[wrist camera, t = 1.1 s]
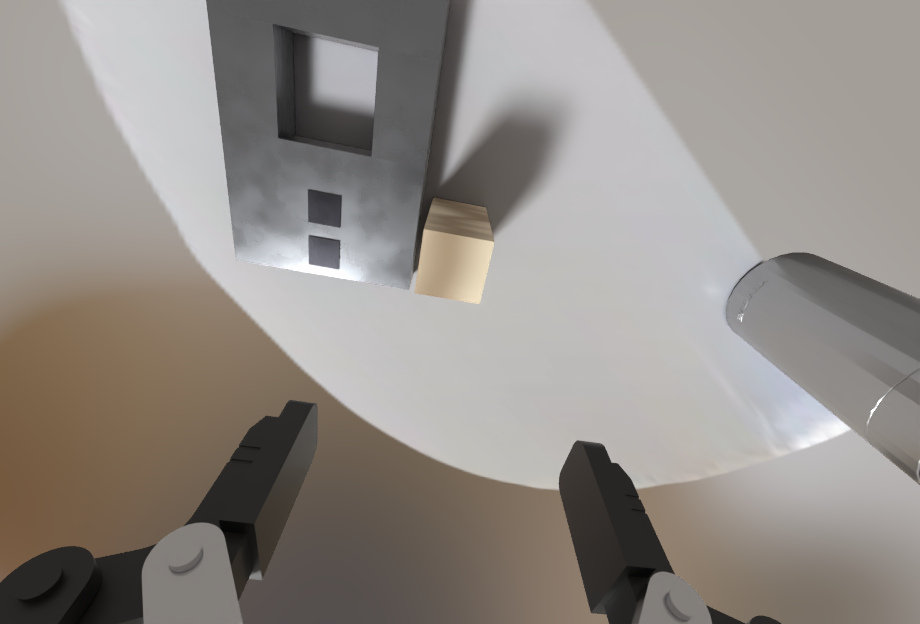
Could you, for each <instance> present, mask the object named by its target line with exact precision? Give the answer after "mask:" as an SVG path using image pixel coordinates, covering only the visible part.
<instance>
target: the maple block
mask: <svg viewBox="0 0 920 624" xmlns="http://www.w3.org/2000/svg"><path fill="white" fill-rule="evenodd" d="M493 246H494V238H493V234H492V230H491V226H490V222H489V218H488V214H487V210H486V207H481V206H476V205H471V204H465V203H460V202H455V201H450V200H445V199H439V198H434V197H433V201H432V204H431V207H430V210H429V214H428V217H427V220H426V223H425V227H424V231H423V238H422V245H421V252H420V259H419V266H418V273H417V280H416V287H415V293H417V294H423V295H429V296H435V297H441V298H447V299H453V300H459V301H465V302H471V303H476V304H480V300H481V296H482V292H483V287H484V283H485V279H486V275H487V271H488V267H489V263H490V258H491V254H492V250H493Z"/></svg>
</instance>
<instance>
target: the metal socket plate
mask: <svg viewBox="0 0 920 624" xmlns="http://www.w3.org/2000/svg"><path fill="white" fill-rule="evenodd" d="M206 2H207V11H208V20H209V29H210V37H211V46H212V55H213V64H214V72H215V81H216V90H217V99H218V107H219V116H220V125H221V134H222V142H223V151H224V160H225V169H226V178H227V186H228V195H229V204H230V213H231V221H232V230H233V239H234V248H235V256H236V261H242V262H248V263H254V264H260V265H266V266H272V267H277V268H283V269H289V270H295V271H301V272H307V273H313V274H319V275H325V276H331V277H337V278H342V279H348V280H354V281H360V282H366V283H372V284H378V285H384V286H390V287H396V288H402V289H407V290H409V287H410V284H411V280H412V277H413V271H414V263H415V256H416V249H417V241H418V234H419V227H420V219H421V212H422V205H423V197H424V190H425V183H426V175H427V168H428V161H429V154H430V146H431V139H432V132H433V124H434V117H435V110H436V102H437V95H438V88H439V80H440V73H441V66H442V58H443V51H444V44H445V36H446V29H447V22H448V14H449V7H450V0H206ZM293 33H297V34H302V35H306V36H311V37H315V38H320V39H324V40H328V41H333V42H337V43H342V44H346V45H351V46H355V47H360V48H364V49H369V50H373V51H377V52H378V66H377V81H376V96H375V112H374V127H373V142H372V151H370V150H366V149H361V148H356V147H351V146H346V145H341V144H336V143H331V142H326V141H321V140H316V139H311V138H306V137H301V136H296V135H295V105H294V67H293Z"/></svg>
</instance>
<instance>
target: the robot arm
mask: <svg viewBox="0 0 920 624" xmlns="http://www.w3.org/2000/svg"><path fill="white" fill-rule="evenodd" d="M726 318H727V322H728V325H729V326H730V328H731V329H732V330H733V331H734V332H735V333H736V334H737V335H738V336H740V337H741V338H742V339H743V340H744V341H746V342H747V343H748V344H749V345H751V346H752V347H753V348H754V349H755V350H757V351H758V352H759V353H760V354H761V355H762V356H763V357H765V358H766V359H767V360H768V361H770V362H771V363H772V364H773V365H774V366H776V367H777V368H778V369H779V370H780V371H782V372H783V373H784V374H785V375H787V376H788V377H789V378H790V379H791V380H793V381H794V382H795V383H796V384H797V385H799V386H800V387H801V388H802V389H804V390H805V391H806V392H807V393H808V394H810V395H811V396H812V397H813V398H814V399H816V400H817V401H818V402H819V403H821V404H822V405H823V406H824V407H825V408H827V409H828V410H829V411H830V412H831V413H833V414H834V415H835V416H836V417H837V418H839V419H840V420H841V421H842V422H844V423H845V424H846V425H847V426H848V427H850V428H851V429H852V430H853V431H854V432H856V433H857V434H858V435H859V436H861V437H862V438H863V439H864V440H865V441H867V442H868V443H869V444H870V445H872V446H873V447H874V448H876V449H877V450H878V451H879V452H880V453H882V454H883V455H884V456H885V457H886V458H888V459H889V460H890V461H891V462H892V463H894V464H895V465H896V466H898V467H899V468H900V469H901V470H902V471H903V472H905V473H906V474H907V475H908V476H910V477H911V478H912V479H913V480H914V481H916V482H917V483H918V484H919V485H920V299H919V298H916V297H914V296H912V295H909V294H907V293H904V292H902V291H899V290H897V289H895V288H892V287H890V286H888V285H885V284H883V283H880V282H878V281H876V280H873V279H871V278H869V277H866V276H864V275H861V274H859V273H857V272H855V271H852V270H850V269H848V268H845V267H843V266H840V265H838V264H836V263H833V262H831V261H828V260H826V259H823V258H821V257H819V256H816V255H813V254H809V253H789V254H785V255H780V256H778V257H775V258H772V259H770V260H768V261H766V262H764V263H762V264H760V265H758V266H757V267H756V268H754V269H753V270H752V271H750V272H749V273H748V274H747V275H746V276H745V277H744V278H743V279H742V280H741V281H740V282H739V283H738V285H737V286H736V287H735V289H734V290H733V292H732V294H731V296H730V298H729V300H728V304H727V308H726ZM316 446H317V404H316V403H308V402H302V401H294V400H290V401H289V402H288V403H287V404H286V406H285V407H284V409H283V411H282V413H281V415H280V416H279V417H271V416H265V417H264V418H263V419H262V420H260V421H259V422H258V423H256V424H255V425H254V426H253V427H251V428H250V429H249V431H248V432H247V434H246V435H245V437H244V438H243V440H242V441H241V443H240V444H239V448H237V449H236V450H235V452H234V454H233V455H232V457H231V458H230V462H228V463H227V464H226V466H225V467H224V469H223V470H222V472H221V474H220V475H219V476H218V478H217V480H216V481H215V482H214V484H213V486H212V487H211V489H210V490H209V492H208V493H207V495H206V496H205V498H204V499H203V501H202V502H201V504H200V505H199V507H198V508H197V510H196V512H195V513H194V515H193V516H192V517H191V519H190V520H189V521H188V522H187V523H186V524H185V525H184V526H183V527H181V528H179V529H177V530H175V531H173V532H172V533H170V534H168V535H167V536H166V537H164V538H163V539H162V540H161V541H160V542H159V543H157V544H155V545H152V546H150V547H147V548H143V549H139V550H134V551H130V552H125V553H120V554H115V555H110V556H105V557H101V558H96V559H94V557H93V556H92V554H91V553H90V552H89V551H88V550H86V549H84V548H82V547H76V546H68V547H61V548H57V549H54V550H50V551H48V552H45V553H43V554H40V555H38V556H36V557H34V558H32V559H30V560H29V561H27V562H25V563H24V564H22V565H21V566H19V567H18V568H17V569H15V570H14V571H13V572H11V573H10V574H9V575H8V576H7V577H6V578H5V579H4V580H3V581H2V582H1V583H0V624H243V621H242V617H241V611H240V607H239V602H238V601H239V599H240V597H241V594H242V592H243V590H244V588H245V585H246V584H247V581H248V579H257V580H262V579H263V577H264V574H265V572H266V570H267V567H268V565H269V563H270V560H271V558H272V556H273V553H274V551H275V548H276V546H277V544H278V541H279V539H280V537H281V534H282V532H283V529H284V527H285V525H286V522H287V520H288V517H289V515H290V513H291V510H292V508H293V506H294V503H295V501H296V498H297V496H298V494H299V491H300V489H301V486H302V484H303V482H304V479H305V477H306V475H307V472H308V470H309V467H310V465H311V463H312V460H313V457H314V454H315V450H316ZM559 490H560V494H561V498H562V502H563V506H564V510H565V514H566V518H567V522H568V525H569V529H570V533H571V537H572V541H573V544H574V548H575V553H576V556H577V560H578V564H579V568H580V571H581V576H582V580H583V584H584V588H585V591H586V595H587V599H588V603H589V607H590V611H591V613H597V614H607V618H608V621H609V624H745V623H743V622H741V621H739V620H736V619H734V618H732V617H730V616H728V615H726V614H723V613H721V612H719V611H717V610H715V609H713V608H710V607H709V606H707V605H705V603H704V601H703V600H702V598H701V597H700V595H699V594H698V593H697V592H696V591H695V590H694V588H693V587H692V586H690V585H689V584H688V583H687V582H686V581H685V580H683V579H682V578H680V577H678V576H676V575H675V573H674V572H673V570H672V568H671V566H670V563H669V561H668V559H667V557H666V555H665V552H664V550H663V548H662V546H661V544H660V541H659V539H658V537H657V535H656V533H655V531H654V528H653V526H652V524H651V522H650V520H649V517H648V515H647V514H645V509H644V506H643V504H642V502H641V500H639V496H638V493H637V491H636V489H635V487H634V485H633V482H632V480H631V479H630V477H629V476H628V475H627V474H626V473H625V471H624V470H623V469H622V468H621V467H620V465H619V464H617V463H611V460H610V458H609V456H608V453H607V451H606V449H605V447H604V446H603V445H602V444H600V443H593V442H586V441H576V442H575V443H574V445H573V447H572V449H571V451H570V453H569V455H568V457H567V459H566V461H565V464H564V466H563V468H562V470H561V472H560V477H559ZM746 624H781V623H779V622H778V621H776V620H774V619H772V618H770V617H766V616H756V617H754V618H752V619H751V620H750V621H749V622H748V623H746Z"/></svg>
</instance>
